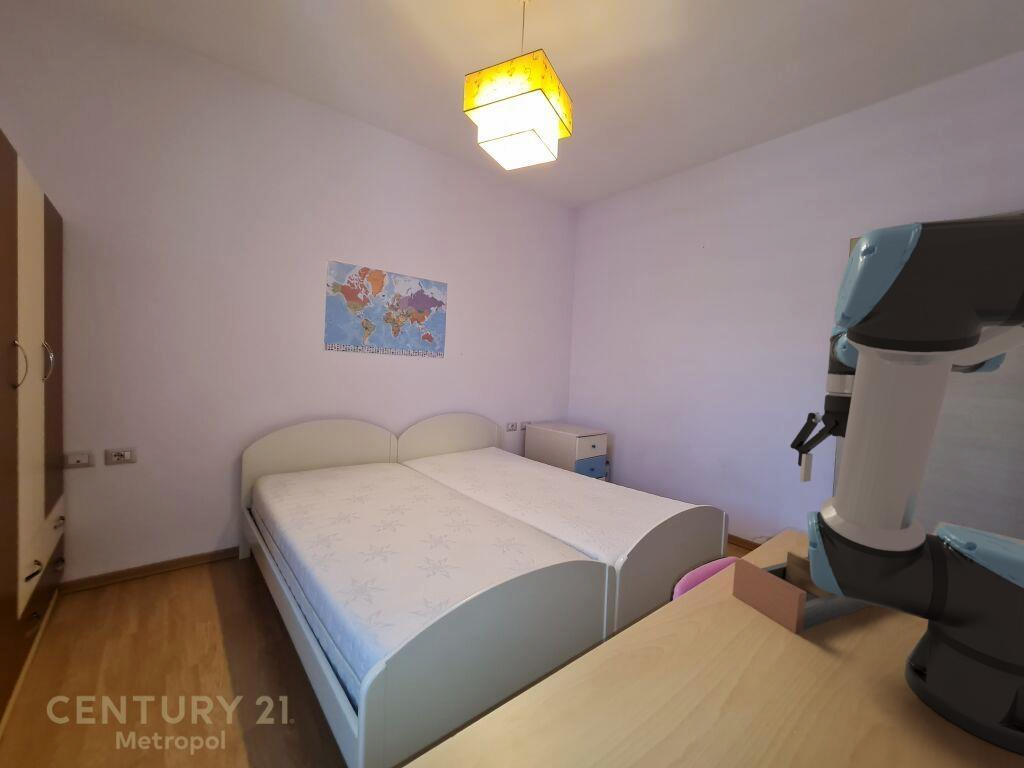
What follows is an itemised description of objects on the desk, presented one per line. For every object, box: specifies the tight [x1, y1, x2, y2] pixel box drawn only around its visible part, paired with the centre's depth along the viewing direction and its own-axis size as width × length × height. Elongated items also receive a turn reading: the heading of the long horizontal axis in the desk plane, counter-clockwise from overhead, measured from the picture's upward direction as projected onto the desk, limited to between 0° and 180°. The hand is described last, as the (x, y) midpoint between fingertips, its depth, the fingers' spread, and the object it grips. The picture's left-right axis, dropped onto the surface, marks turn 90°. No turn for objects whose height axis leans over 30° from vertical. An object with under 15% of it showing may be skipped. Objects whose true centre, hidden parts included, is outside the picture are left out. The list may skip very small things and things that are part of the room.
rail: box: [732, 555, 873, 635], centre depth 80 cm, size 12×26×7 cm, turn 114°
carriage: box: [785, 551, 832, 598], centre depth 83 cm, size 9×12×6 cm
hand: (837, 490), depth 90 cm, fingers open, 13 cm apart
